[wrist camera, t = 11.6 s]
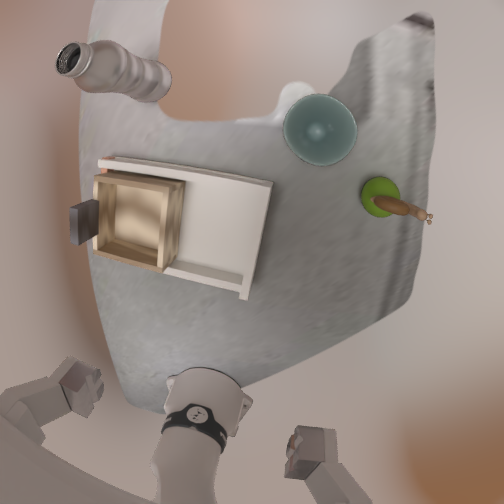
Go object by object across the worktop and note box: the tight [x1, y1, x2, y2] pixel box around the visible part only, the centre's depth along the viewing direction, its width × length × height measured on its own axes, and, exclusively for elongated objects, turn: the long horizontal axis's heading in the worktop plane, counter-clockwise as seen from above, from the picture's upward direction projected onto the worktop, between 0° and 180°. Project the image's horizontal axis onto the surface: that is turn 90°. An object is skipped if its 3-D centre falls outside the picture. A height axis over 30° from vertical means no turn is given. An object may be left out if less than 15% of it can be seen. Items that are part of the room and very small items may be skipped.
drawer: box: [70, 170, 186, 273], centre depth 38 cm, size 12×12×11 cm
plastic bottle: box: [55, 40, 172, 102], centre depth 27 cm, size 6×7×20 cm
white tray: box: [98, 156, 274, 301], centre depth 41 cm, size 16×26×6 cm, turn 79°
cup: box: [283, 94, 358, 166], centre depth 32 cm, size 8×8×10 cm
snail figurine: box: [361, 177, 433, 224], centre depth 33 cm, size 5×6×12 cm
